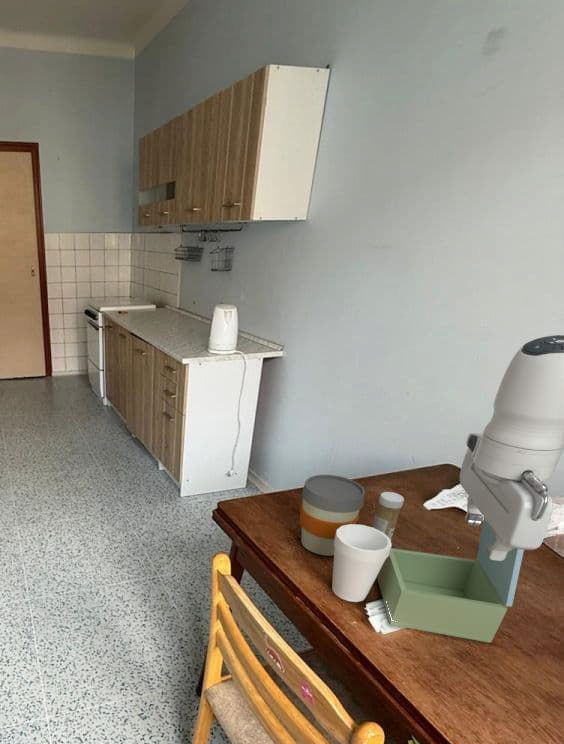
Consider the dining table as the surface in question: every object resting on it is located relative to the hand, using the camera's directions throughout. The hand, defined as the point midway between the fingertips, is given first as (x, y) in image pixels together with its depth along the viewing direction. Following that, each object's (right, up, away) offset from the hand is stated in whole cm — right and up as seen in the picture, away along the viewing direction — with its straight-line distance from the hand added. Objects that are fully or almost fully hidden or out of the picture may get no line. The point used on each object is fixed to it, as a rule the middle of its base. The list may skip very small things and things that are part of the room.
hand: (482, 539), depth 72 cm
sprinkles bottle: (+4, -6, +35) cm, 36 cm away
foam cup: (-9, -13, +23) cm, 28 cm away
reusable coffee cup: (-8, -5, +37) cm, 38 cm away
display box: (+4, -15, +18) cm, 24 cm away
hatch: (+9, -1, +8) cm, 12 cm away
